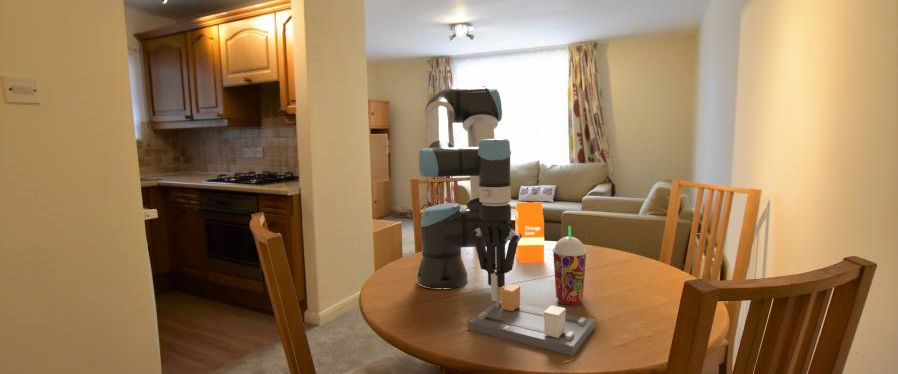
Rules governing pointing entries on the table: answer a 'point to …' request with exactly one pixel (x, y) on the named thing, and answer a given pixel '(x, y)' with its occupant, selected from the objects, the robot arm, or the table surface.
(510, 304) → the orange fader
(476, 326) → the fader console
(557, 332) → the cream fader
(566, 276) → the smoothie
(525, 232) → the orange juice
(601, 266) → the table surface
